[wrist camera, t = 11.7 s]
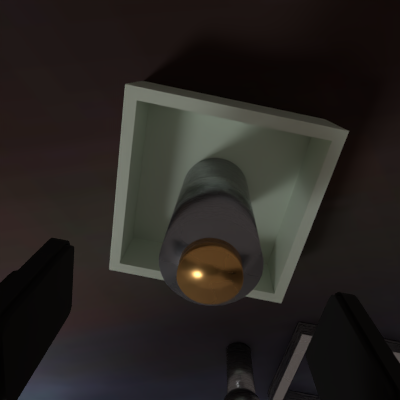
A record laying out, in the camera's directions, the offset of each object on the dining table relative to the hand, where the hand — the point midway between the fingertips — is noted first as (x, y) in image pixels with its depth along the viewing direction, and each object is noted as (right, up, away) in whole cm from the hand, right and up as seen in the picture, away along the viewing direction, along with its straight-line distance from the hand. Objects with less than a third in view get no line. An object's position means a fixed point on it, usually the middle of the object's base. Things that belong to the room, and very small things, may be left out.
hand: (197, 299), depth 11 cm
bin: (+1, +5, +9) cm, 10 cm away
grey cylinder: (+1, +4, +8) cm, 9 cm away
